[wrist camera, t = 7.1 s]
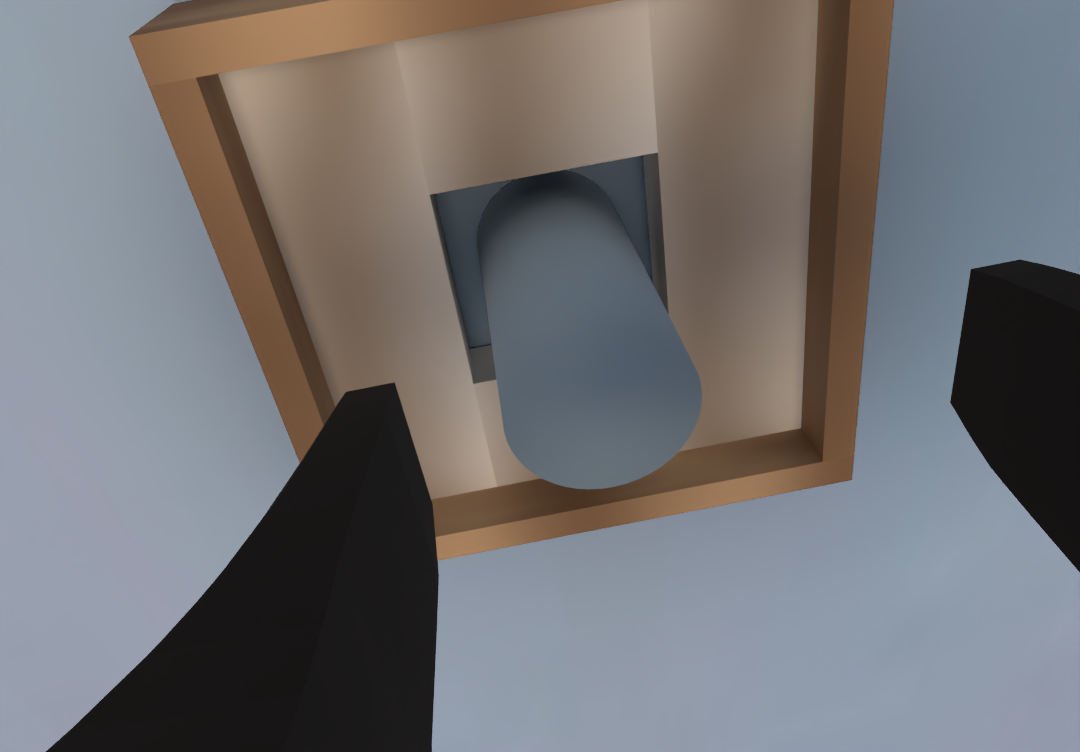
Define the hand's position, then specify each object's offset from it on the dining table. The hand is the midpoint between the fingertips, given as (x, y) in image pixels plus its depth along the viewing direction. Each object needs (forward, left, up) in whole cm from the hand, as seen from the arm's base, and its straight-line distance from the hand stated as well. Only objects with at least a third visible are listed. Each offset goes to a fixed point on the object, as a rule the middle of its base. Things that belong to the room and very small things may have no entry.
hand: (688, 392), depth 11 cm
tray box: (+1, +2, -10) cm, 10 cm away
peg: (+1, +2, -10) cm, 10 cm away
